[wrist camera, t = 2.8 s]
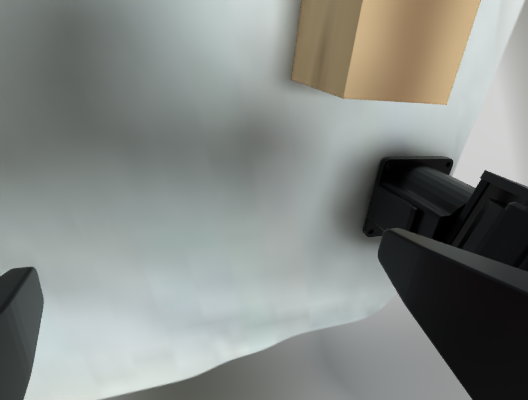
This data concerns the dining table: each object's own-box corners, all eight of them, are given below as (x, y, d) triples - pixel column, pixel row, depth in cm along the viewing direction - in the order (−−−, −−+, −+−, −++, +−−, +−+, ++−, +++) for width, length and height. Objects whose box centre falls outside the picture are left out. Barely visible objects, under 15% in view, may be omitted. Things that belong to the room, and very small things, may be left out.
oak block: (401, -23, 20) (493, -39, 15) (375, 86, 22) (446, 104, 17) (307, -43, 18) (376, -70, 13) (290, 79, 20) (343, 98, 15)
